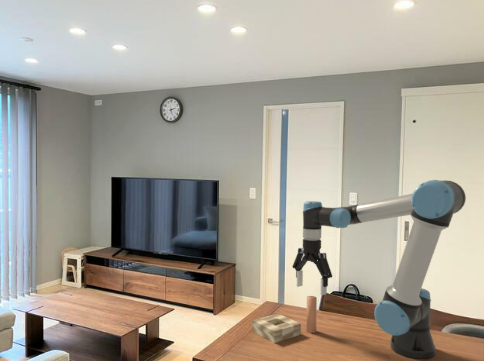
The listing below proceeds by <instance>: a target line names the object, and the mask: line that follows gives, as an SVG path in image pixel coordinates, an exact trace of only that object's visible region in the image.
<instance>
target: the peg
mask: <svg viewBox="0 0 484 361" xmlns="http://www.w3.org/2000/svg"><path fill="white" fill-rule="evenodd" d="M317 304H318V303H317V296H314V295H313V296H312V295H308V296H306V333H308V334H315V333H317V314H318V313H317V310H318V309H317Z"/></svg>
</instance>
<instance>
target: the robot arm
mask: <svg viewBox="0 0 484 361" xmlns="http://www.w3.org/2000/svg"><path fill="white" fill-rule="evenodd" d="M466 196H467V195H466V192H465V191H464V189H463V187H462V186H461V185H460V184H458V183H456V182H455V181H453V180H446V179H445V180H438V179H431V180H427V181H425V182H424V181H423V182H422V183H420V184H419V185H418V186H416V187H415V189H414V190H413V192H412V193H409V194H404V195H400V196H394V197H389V198H384V199H379V200H375V201H370V202H364V203H359V204H354V205H349V206H340V207H325V206H323V203H322V202H321V201H318V200H317V201H316V200H315V201H314V200H312V201H311V200H308V201H307V200H306V201H305V202H303V208H302V209H303V211H302V219H303V220H302V221H303V223H302V224H303V225H302V238H303V239H302V247H299V248H297V254H296V256H295V259H294V261H293V264H292V265H291V266H292V269H295V278H296V287H297V288H298V287H303V286H304V285H303V281H304V280H303V277H304V274H303V273H304V271H303V268H304V267H305V265H306V264H307V263H308V262H310V263H313V264H314V265H315V267H316V268H317V270H318V272H319V273H320V276H321V278H320V295H321V296H324V295H327V292H328V290H327V288H328V286H329V279H332V278H333V273H332V270H331V268H330V264H329V261H328V259H327V258H328V257H327V253H326V252H321V248H322V226H324V227H329V228H330V227H331V228H336V229H344V228H347V227H348V226H349V225H350V226H351V225H358V224H362V223H367V222H373V221H380V220H387V219H393V218H398V217H400V218H401V217H405V216H410V217H411V218H412V221H413V223H412V225H411V229H410V232H409V235H408V237H407V241H406V244H405V247H404V250H403V252H402V256H401V258H400V262H399V265H398V268H397V271H396V274H395V277H394V280H393V283H392V284H391V285H389V286H387V287H386V289H385V292H384V295H383V297H382V300H381V301H379V302H378V303H377V304H376V306H375V308H374V314H373V315H374V319H375V321H376V323H377V325H378V327H379V328H380V329H381V330H382V331H383V332H385V333H386V334H388V335H389V336H390V335H391V338H390V349H391V350H393V352H395V353H397V354H398V355H401V356H404V357H408V358H412V359H420V360H421V359H423V360H424V359H425V360H426V359H431V358H434V357H435V355H436V345H435V343H434V339H433V336H432V333H431V302H432V299H431V293H430V291H429V290H427V289H426V288H423V284H424V281H425V280H426V276H427V273H428V271H429V268H430V265H431V262H432V259H433V256H434V253H435V250H436V247H437V245H438V242H439V239H440V236H441V234H442V231H444V230H446V229H447V228H449V226H450V224H451V222H452V218H453V215H455V214H456V213H458V212H460V211H461V210H462V209H463V207H465V206H464V205H465V203H466Z"/></svg>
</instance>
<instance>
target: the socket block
mask: <svg viewBox="0 0 484 361" xmlns="http://www.w3.org/2000/svg"><path fill="white" fill-rule="evenodd" d="M251 328H252V329H251V330H252V332H253V333H255V334H256V335H258V336H261V337H262V338H264V339H266V340H267V341H270V342H271V343H273V344H276V343H279V342H282V341H286V340H289V339H291V338H295V337H298V336H301V335H302V323H301V322H299V321H296V320H293V319H291V318H289V317H287V316H285V315H282V314H280V313H274V314H271V315H268V316H264V317H260V318H259V317H258V318H256V319H252V327H251Z"/></svg>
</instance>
